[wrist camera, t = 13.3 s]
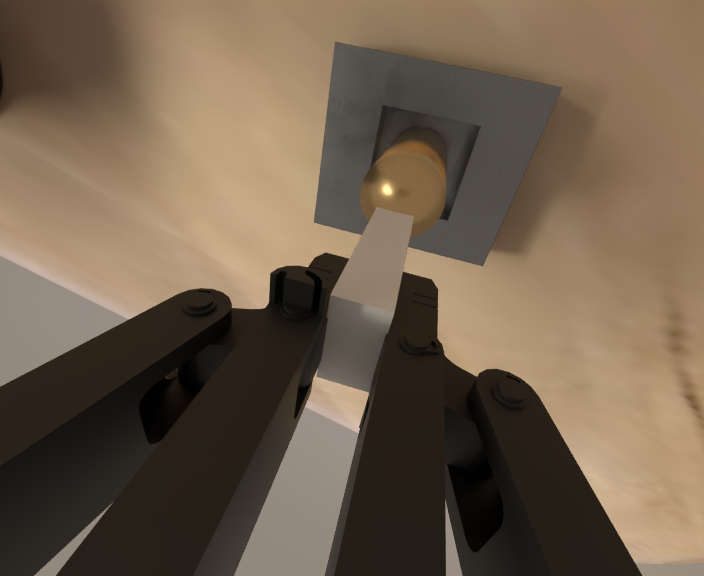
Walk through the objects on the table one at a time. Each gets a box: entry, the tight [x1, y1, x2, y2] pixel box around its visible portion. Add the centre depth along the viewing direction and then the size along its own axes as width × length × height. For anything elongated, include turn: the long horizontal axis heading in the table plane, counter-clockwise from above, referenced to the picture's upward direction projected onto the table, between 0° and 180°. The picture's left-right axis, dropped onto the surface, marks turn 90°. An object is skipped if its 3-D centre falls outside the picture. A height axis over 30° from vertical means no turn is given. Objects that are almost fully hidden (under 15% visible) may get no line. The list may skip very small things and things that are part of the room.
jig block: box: [314, 42, 562, 266], centre depth 29 cm, size 16×14×4 cm
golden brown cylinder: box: [360, 128, 447, 238], centre depth 25 cm, size 5×5×12 cm
